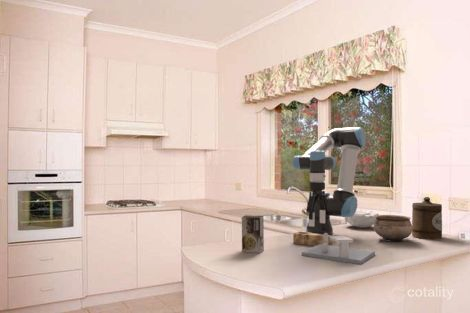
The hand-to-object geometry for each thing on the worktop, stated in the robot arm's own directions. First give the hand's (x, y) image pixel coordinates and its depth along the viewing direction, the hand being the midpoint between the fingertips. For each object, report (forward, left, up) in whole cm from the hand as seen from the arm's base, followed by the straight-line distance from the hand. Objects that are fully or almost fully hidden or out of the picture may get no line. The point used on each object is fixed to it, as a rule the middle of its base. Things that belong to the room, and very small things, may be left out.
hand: (317, 224), depth 193 cm
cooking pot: (+28, +33, -10) cm, 45 cm away
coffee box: (-19, -30, -10) cm, 37 cm away
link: (-2, 0, -10) cm, 10 cm away
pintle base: (+16, -15, -10) cm, 24 cm away
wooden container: (+41, +54, -10) cm, 69 cm away
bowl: (+2, +64, -10) cm, 65 cm away
